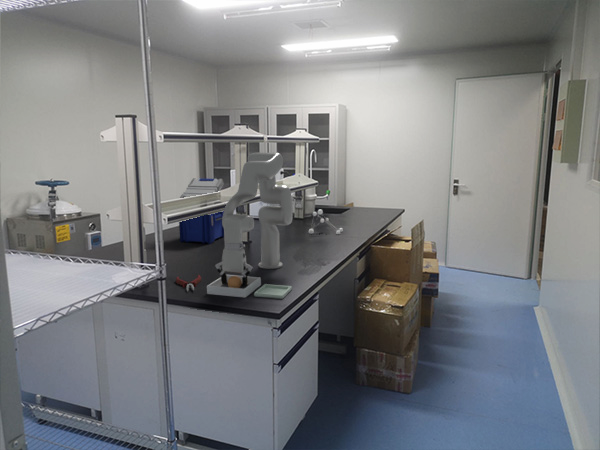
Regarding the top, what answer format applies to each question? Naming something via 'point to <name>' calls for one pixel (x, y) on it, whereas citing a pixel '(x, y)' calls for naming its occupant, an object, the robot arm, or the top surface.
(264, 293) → the tray
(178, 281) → the pliers
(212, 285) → the grey square frame
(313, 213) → the molecule model
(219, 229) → the storage box
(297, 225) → the top surface
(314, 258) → the top surface
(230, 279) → the ball
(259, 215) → the robot arm
